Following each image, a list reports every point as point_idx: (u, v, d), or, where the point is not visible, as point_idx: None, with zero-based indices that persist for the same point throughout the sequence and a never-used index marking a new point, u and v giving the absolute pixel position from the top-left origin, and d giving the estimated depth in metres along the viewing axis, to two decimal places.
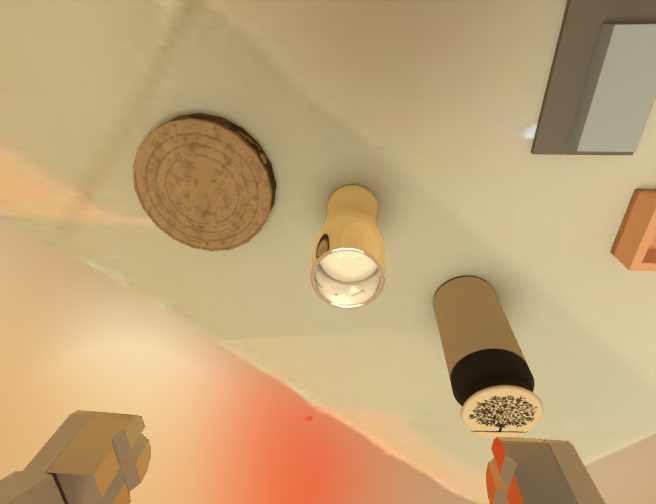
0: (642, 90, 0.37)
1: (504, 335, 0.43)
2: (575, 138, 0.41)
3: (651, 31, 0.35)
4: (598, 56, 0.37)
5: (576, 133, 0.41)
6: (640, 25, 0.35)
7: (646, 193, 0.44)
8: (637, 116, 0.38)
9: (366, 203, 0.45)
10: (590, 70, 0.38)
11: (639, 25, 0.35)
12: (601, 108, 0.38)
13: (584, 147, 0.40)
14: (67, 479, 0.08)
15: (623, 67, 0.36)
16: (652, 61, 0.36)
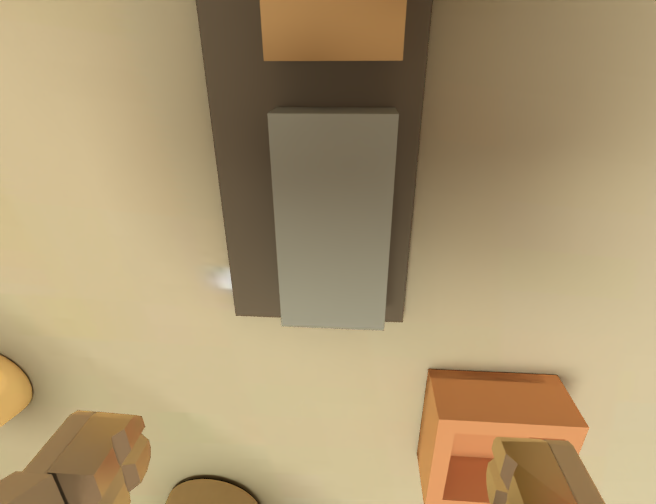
0: (361, 231, 0.19)
1: None
2: None
3: (341, 127, 0.17)
4: None
5: None
6: (316, 115, 0.17)
7: (439, 382, 0.25)
8: (367, 274, 0.20)
9: None
10: None
11: (314, 115, 0.17)
12: (297, 260, 0.20)
13: (292, 321, 0.22)
14: (67, 479, 0.08)
15: (311, 191, 0.19)
16: (363, 182, 0.18)
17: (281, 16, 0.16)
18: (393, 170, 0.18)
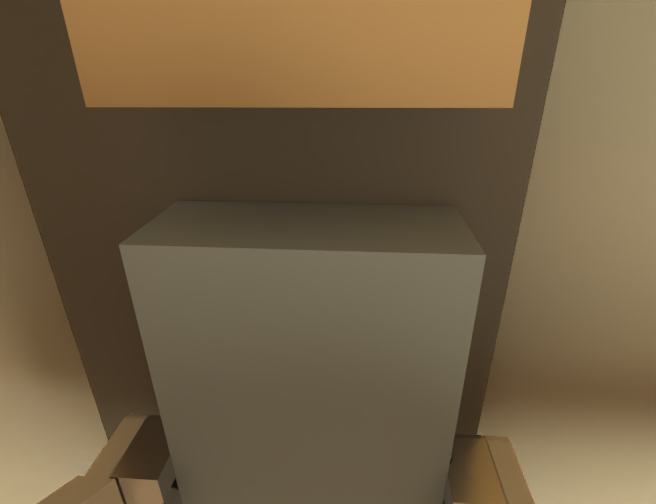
0: (374, 491, 0.08)
1: None
2: None
3: (322, 282, 0.06)
4: None
5: None
6: (252, 253, 0.06)
7: None
8: None
9: None
10: None
11: (246, 253, 0.06)
12: None
13: None
14: (129, 484, 0.08)
15: (253, 413, 0.08)
16: (380, 402, 0.07)
17: None
18: (459, 381, 0.07)
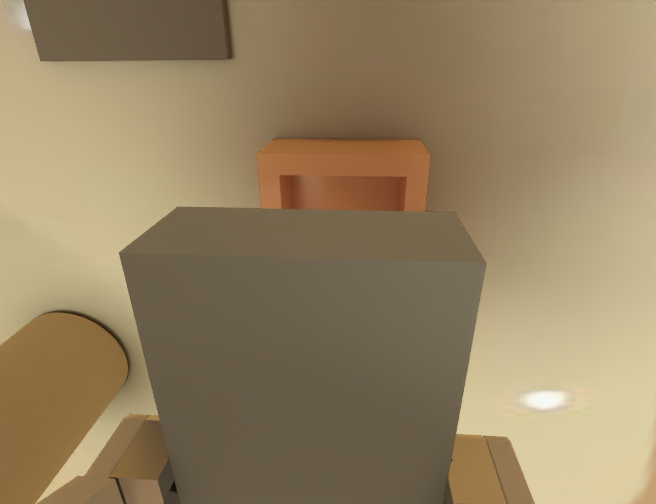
0: (374, 497, 0.08)
1: None
2: None
3: (323, 290, 0.06)
4: None
5: None
6: (253, 261, 0.06)
7: (279, 142, 0.22)
8: None
9: None
10: None
11: (247, 261, 0.06)
12: None
13: None
14: (129, 484, 0.08)
15: (253, 420, 0.08)
16: (380, 408, 0.07)
17: None
18: (459, 388, 0.07)
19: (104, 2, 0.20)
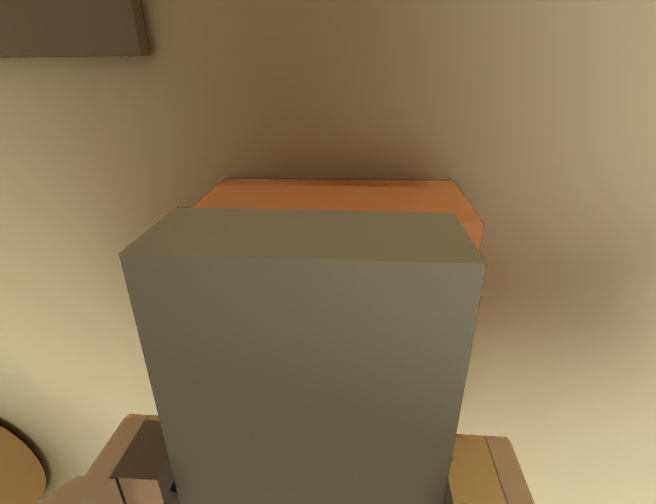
0: (374, 498, 0.08)
1: None
2: None
3: (323, 291, 0.06)
4: None
5: None
6: (252, 262, 0.06)
7: (231, 187, 0.14)
8: None
9: None
10: None
11: (247, 262, 0.06)
12: None
13: None
14: (129, 484, 0.08)
15: (253, 420, 0.08)
16: (380, 409, 0.07)
17: None
18: (459, 389, 0.07)
19: None
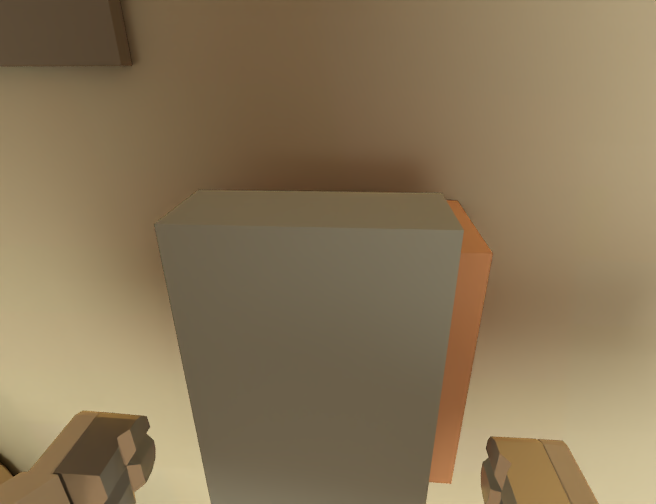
0: (372, 445, 0.09)
1: None
2: None
3: (326, 255, 0.07)
4: None
5: None
6: (267, 230, 0.07)
7: None
8: None
9: None
10: None
11: (262, 230, 0.07)
12: (246, 482, 0.10)
13: None
14: (73, 479, 0.08)
15: (266, 373, 0.09)
16: (376, 362, 0.08)
17: None
18: (444, 342, 0.08)
19: None
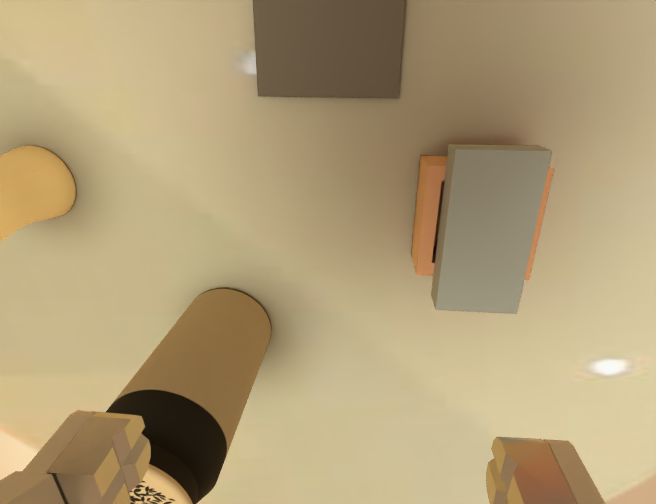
0: (511, 235, 0.26)
1: (195, 370, 0.26)
2: (434, 290, 0.29)
3: (508, 159, 0.24)
4: (446, 187, 0.26)
5: (435, 283, 0.29)
6: (491, 151, 0.24)
7: (429, 158, 0.29)
8: (510, 268, 0.27)
9: (22, 165, 0.30)
10: (442, 202, 0.27)
11: (490, 151, 0.24)
12: (458, 257, 0.27)
13: (445, 305, 0.28)
14: (67, 479, 0.08)
15: (478, 205, 0.25)
16: (518, 199, 0.25)
17: None
18: (542, 190, 0.25)
19: (315, 56, 0.28)
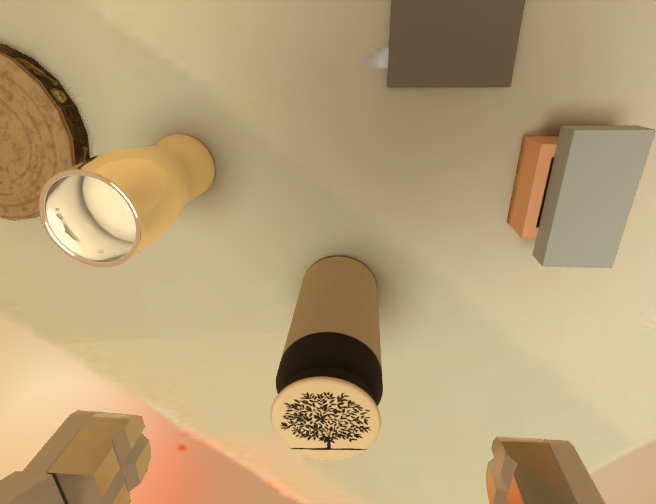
0: (614, 201, 0.31)
1: (351, 317, 0.32)
2: (540, 250, 0.34)
3: (618, 137, 0.29)
4: (559, 162, 0.31)
5: (541, 244, 0.34)
6: (604, 131, 0.29)
7: (534, 138, 0.34)
8: (610, 229, 0.32)
9: (184, 150, 0.35)
10: (551, 175, 0.33)
11: (603, 131, 0.29)
12: (566, 220, 0.32)
13: (551, 262, 0.34)
14: (67, 479, 0.08)
15: (589, 176, 0.31)
16: (623, 170, 0.30)
17: None
18: (644, 163, 0.30)
19: (441, 52, 0.33)
